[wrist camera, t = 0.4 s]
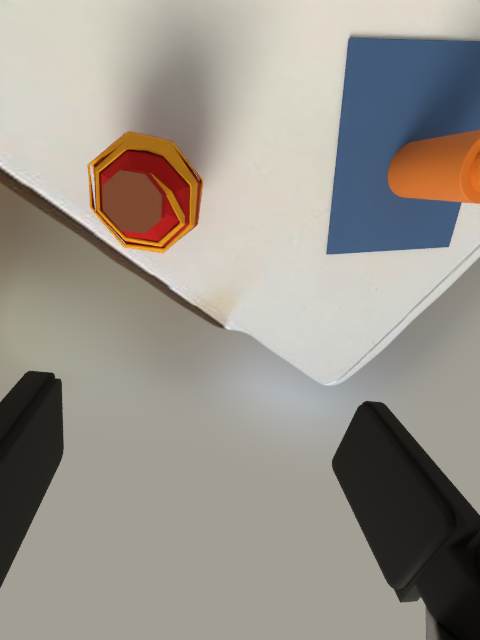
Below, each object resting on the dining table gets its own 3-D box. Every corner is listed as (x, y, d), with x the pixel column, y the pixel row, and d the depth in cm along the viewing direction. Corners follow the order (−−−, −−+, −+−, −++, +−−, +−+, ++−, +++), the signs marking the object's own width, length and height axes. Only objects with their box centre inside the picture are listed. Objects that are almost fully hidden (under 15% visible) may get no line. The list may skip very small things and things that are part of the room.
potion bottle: (218, 177, 33) (234, 175, 20) (177, 255, 37) (168, 298, 23) (130, 117, 30) (78, 66, 17) (93, 209, 33) (24, 228, 20)
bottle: (399, 135, 34) (558, 100, 19) (443, 147, 35) (625, 123, 20) (379, 192, 36) (506, 200, 22) (421, 201, 38) (568, 215, 23)
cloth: (348, 38, 30) (350, 37, 29) (504, 43, 32) (507, 42, 31) (326, 254, 39) (327, 254, 39) (447, 246, 41) (448, 246, 41)
